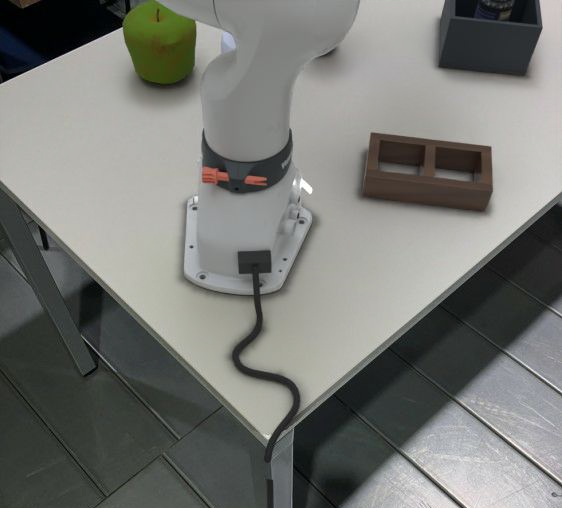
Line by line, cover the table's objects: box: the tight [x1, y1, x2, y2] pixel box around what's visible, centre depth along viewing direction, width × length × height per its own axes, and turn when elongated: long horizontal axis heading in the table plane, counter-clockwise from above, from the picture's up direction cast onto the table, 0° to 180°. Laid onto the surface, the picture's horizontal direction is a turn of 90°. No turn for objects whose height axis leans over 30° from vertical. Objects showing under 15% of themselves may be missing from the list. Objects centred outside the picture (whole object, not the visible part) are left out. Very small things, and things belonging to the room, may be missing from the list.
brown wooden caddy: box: [361, 131, 494, 212], centre depth 96 cm, size 10×19×4 cm, turn 81°
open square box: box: [438, 0, 544, 77], centre depth 113 cm, size 16×16×9 cm
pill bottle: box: [474, 0, 514, 22], centre depth 112 cm, size 6×6×11 cm
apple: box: [121, 0, 198, 86], centre depth 106 cm, size 12×12×11 cm
